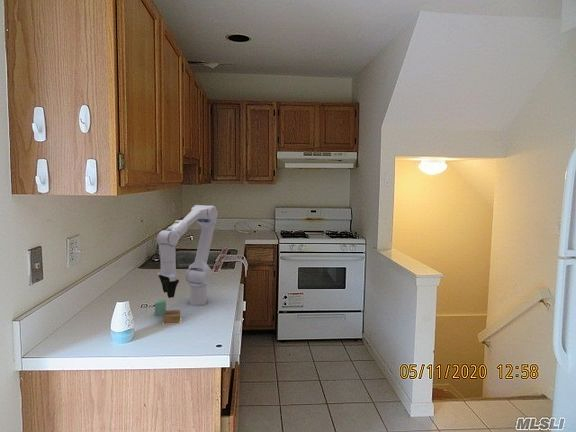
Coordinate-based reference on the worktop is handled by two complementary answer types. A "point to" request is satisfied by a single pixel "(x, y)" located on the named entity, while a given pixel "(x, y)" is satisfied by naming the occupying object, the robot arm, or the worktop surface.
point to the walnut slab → (171, 317)
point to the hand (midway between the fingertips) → (168, 294)
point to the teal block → (160, 307)
